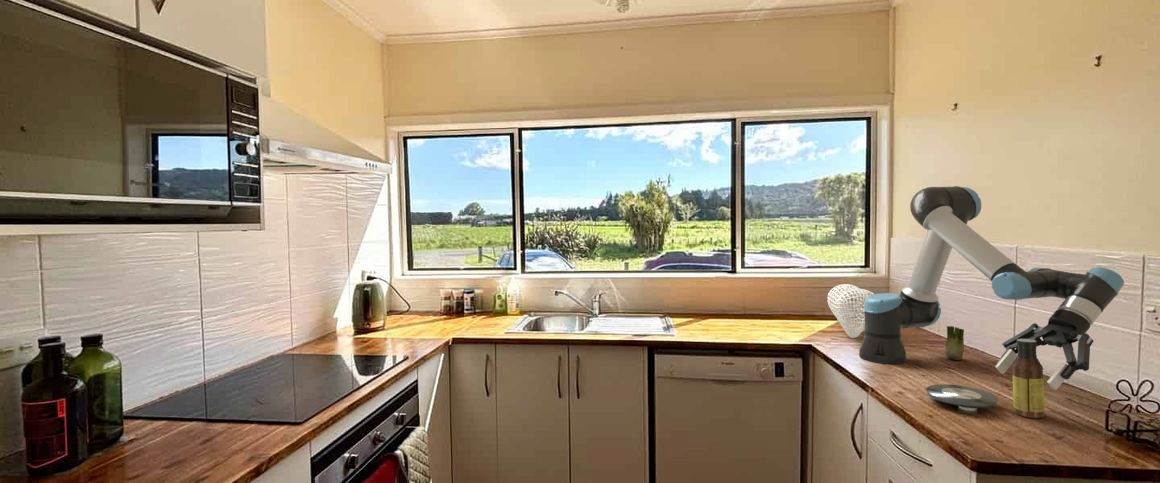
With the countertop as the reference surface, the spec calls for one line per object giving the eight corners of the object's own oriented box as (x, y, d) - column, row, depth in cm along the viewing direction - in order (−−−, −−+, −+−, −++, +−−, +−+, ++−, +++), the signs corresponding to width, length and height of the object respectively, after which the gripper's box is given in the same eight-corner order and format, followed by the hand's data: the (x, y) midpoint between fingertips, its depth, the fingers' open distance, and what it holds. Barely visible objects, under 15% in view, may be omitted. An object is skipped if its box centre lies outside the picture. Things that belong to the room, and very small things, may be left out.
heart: (822, 330, 236) (822, 282, 235) (858, 330, 234) (858, 282, 233) (845, 346, 209) (845, 291, 208) (886, 346, 207) (887, 291, 206)
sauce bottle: (1044, 414, 136) (1046, 339, 135) (1044, 421, 131) (1045, 344, 130) (1012, 408, 140) (1013, 336, 139) (1010, 415, 136) (1012, 340, 135)
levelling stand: (912, 396, 151) (912, 386, 151) (961, 392, 153) (961, 382, 153) (960, 417, 135) (961, 405, 135) (1013, 412, 138) (1014, 401, 137)
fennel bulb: (966, 361, 184) (966, 328, 183) (950, 361, 184) (951, 328, 184) (956, 357, 189) (957, 324, 189) (942, 357, 190) (942, 324, 190)
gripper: (1139, 337, 125) (1085, 403, 123) (1033, 318, 149) (988, 373, 148) (1121, 317, 124) (1067, 383, 122) (1018, 300, 148) (972, 355, 147)
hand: (1023, 377), depth 135 cm, fingers open, 13 cm apart
